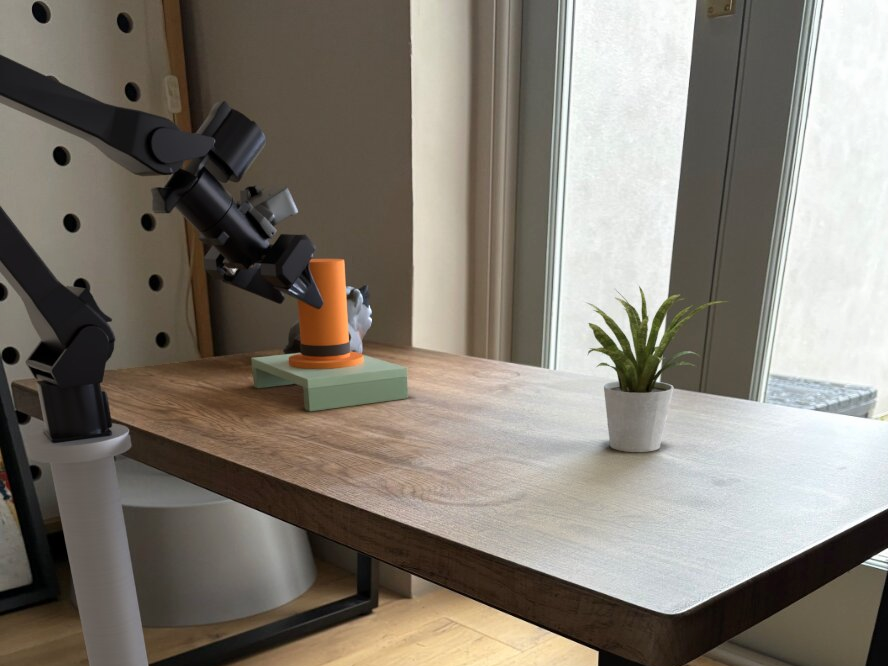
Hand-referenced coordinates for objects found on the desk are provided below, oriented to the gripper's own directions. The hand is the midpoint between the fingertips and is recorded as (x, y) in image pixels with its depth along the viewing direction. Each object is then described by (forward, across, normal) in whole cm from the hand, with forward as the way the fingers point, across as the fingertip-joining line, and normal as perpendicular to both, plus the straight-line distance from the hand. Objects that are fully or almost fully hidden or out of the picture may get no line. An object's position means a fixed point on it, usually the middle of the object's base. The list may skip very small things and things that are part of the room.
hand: (301, 303), depth 120 cm
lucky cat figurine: (+21, +22, -4) cm, 31 cm away
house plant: (+16, -48, +1) cm, 51 cm away
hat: (+8, 0, +3) cm, 9 cm away
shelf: (+11, 0, +6) cm, 12 cm away
